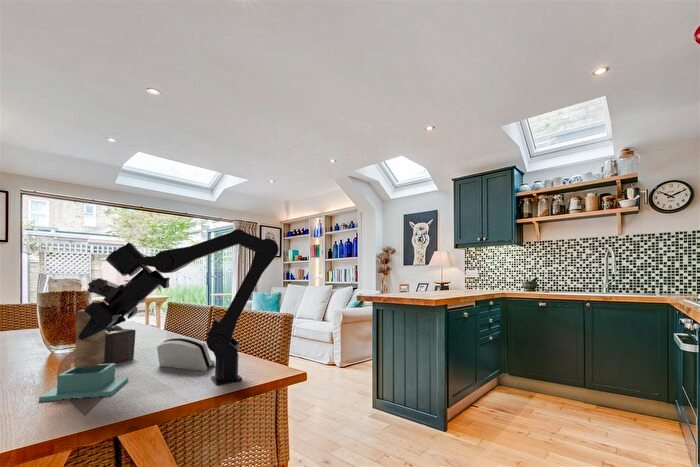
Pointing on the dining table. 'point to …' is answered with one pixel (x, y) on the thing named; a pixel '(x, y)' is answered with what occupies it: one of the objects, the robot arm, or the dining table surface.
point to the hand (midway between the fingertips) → (84, 336)
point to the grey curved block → (184, 354)
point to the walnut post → (88, 344)
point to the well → (86, 383)
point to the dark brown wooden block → (119, 345)
